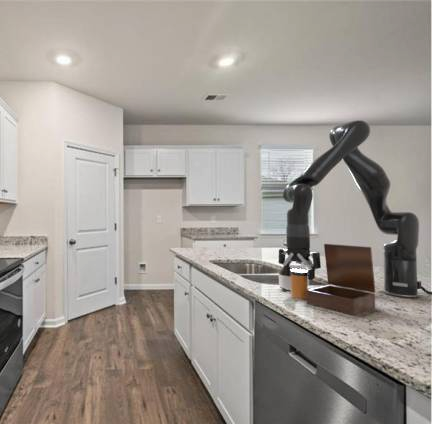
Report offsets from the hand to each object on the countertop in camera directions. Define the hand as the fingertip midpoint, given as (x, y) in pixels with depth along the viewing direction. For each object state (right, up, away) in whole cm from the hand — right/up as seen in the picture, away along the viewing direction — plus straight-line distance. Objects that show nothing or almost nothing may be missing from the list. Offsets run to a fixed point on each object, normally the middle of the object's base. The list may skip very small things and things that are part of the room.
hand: (298, 277), depth 107 cm
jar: (0, -8, 0) cm, 8 cm away
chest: (+7, -8, -11) cm, 16 cm away
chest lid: (+12, +6, -9) cm, 16 cm away
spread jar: (+6, -9, +12) cm, 16 cm away
